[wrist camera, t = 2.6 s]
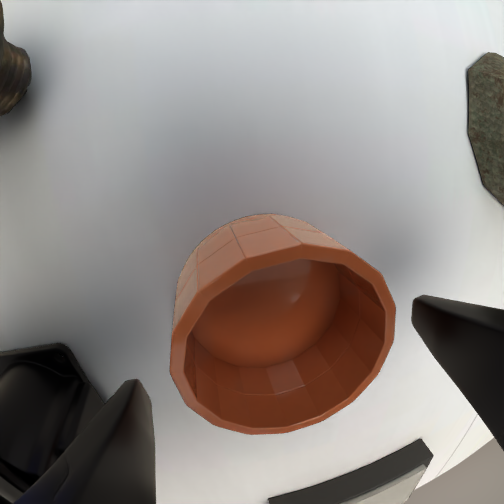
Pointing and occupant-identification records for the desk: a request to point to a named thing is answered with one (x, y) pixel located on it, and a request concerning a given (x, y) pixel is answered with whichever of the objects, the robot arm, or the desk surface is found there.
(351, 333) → the bowl
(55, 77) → the desk surface
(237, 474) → the desk surface
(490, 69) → the sword in stone
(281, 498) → the scale
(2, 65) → the light bulb
